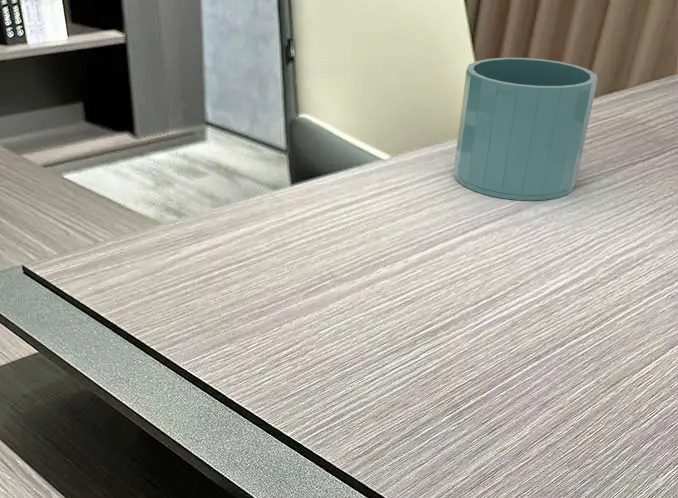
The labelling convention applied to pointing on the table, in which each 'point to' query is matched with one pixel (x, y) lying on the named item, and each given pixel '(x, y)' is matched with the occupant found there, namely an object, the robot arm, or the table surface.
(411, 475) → the table surface
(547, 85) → the canister
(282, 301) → the table surface
